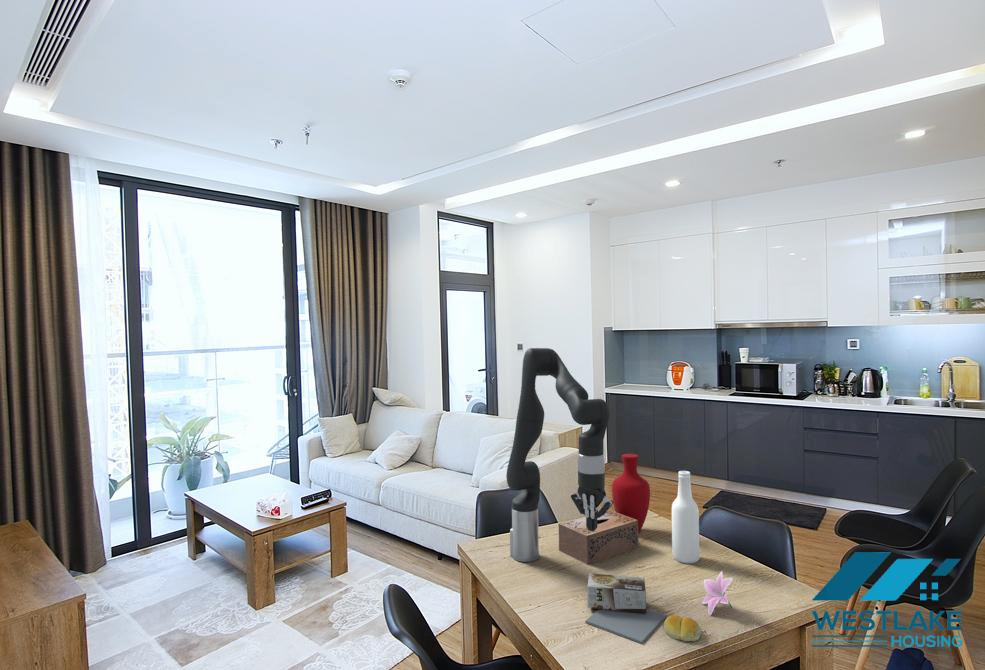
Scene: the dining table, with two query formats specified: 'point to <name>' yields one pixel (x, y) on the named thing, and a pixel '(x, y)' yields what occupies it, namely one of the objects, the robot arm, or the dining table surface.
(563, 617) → the dining table surface
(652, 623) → the mat
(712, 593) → the lily
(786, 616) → the dining table surface
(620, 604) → the coffee box
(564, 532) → the tissue box cover
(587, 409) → the robot arm
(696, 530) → the alcohol
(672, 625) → the bread roll
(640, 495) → the vase
